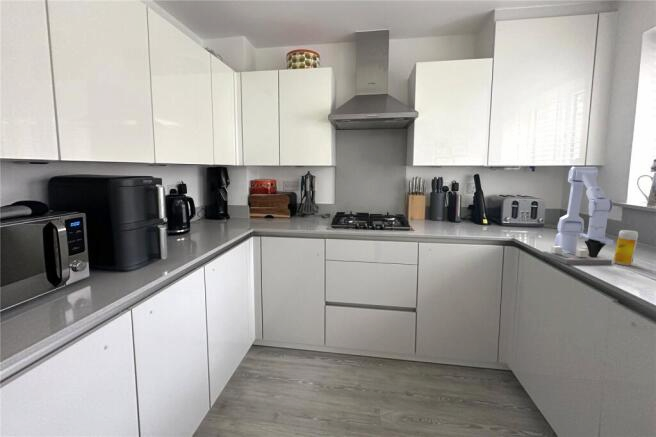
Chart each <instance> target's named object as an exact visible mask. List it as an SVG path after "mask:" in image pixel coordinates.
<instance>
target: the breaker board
mask: <svg viewBox="0 0 656 437" xmlns="http://www.w3.org/2000/svg"><path fill="white" fill-rule="evenodd" d="M575 255H576V252H564V251H562V254H560V253H552V252H551V250H550V251H549V250H547V251H543V253H542V256H543V257H547V258H549V259H551V260H554V261H557V262H559V263H561V264H565V265H592V266H593V265H597V266H598V265H599V264H601V265H605V266H606V265H608V266H609V265H610V266H611V265H612V264H613V263H612V262H613V260H612V259H609V258H605V257H603V256H600V255H598V256H597V258H592V257H590V256H589V254H588V257H578V256H575Z"/></svg>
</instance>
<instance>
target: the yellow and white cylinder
mask: <svg viewBox="0 0 656 437" xmlns="http://www.w3.org/2000/svg"><path fill="white" fill-rule="evenodd" d="M638 239H639V232H638V231H637V230H630V229H621V230H619V232H618V237H617V242H616V247H615V253H614V257H613V262H614V263H615V264H617V265H620V266H631V265H632V264H633V262H634V257H635V254H636V248H637V243H638Z"/></svg>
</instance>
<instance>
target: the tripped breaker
mask: <svg viewBox="0 0 656 437" xmlns="http://www.w3.org/2000/svg"><path fill="white" fill-rule="evenodd" d="M575 256H578V257H588V250H585V249H580V248H577V249H576V255H575Z"/></svg>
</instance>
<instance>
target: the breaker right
mask: <svg viewBox="0 0 656 437" xmlns="http://www.w3.org/2000/svg"><path fill="white" fill-rule="evenodd" d="M579 249H585V250H588V248H587V245H585V246H584V245H581V246H580V248H579ZM588 254H589V251H588Z"/></svg>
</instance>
